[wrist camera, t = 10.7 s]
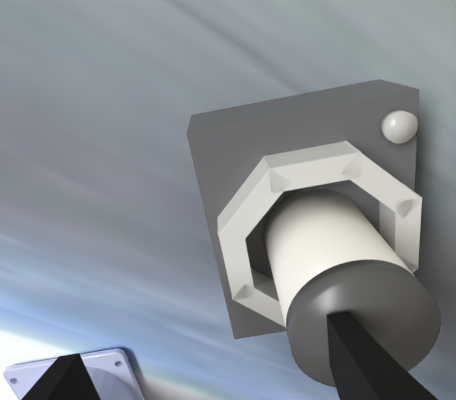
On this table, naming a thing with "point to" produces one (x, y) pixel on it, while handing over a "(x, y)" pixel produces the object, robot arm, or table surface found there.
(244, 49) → the table surface
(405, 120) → the grey square base
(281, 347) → the table surface
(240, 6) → the table surface
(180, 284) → the table surface
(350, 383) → the robot arm
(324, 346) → the white lens
